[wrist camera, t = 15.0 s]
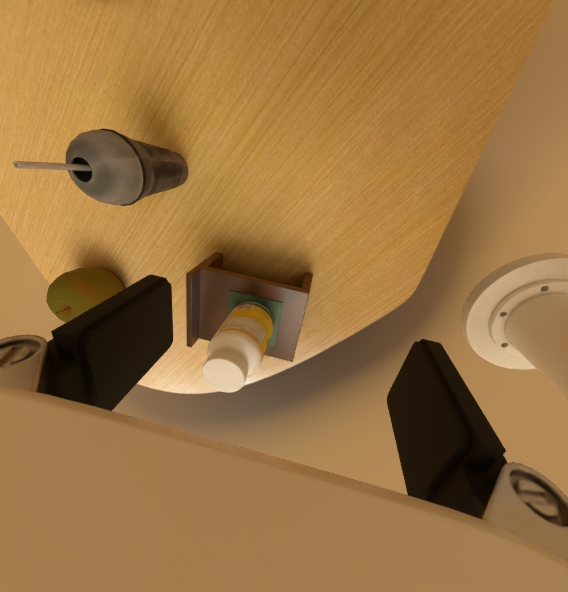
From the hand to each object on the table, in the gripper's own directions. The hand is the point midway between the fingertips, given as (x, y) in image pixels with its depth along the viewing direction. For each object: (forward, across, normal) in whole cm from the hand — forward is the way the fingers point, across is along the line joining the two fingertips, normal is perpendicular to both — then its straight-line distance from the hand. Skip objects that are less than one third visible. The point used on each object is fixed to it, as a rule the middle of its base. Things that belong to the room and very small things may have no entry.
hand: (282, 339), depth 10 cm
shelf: (+30, +7, +15) cm, 35 cm away
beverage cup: (+31, +22, -2) cm, 38 cm away
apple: (+31, +35, +20) cm, 51 cm away
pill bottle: (+23, +6, +15) cm, 28 cm away
